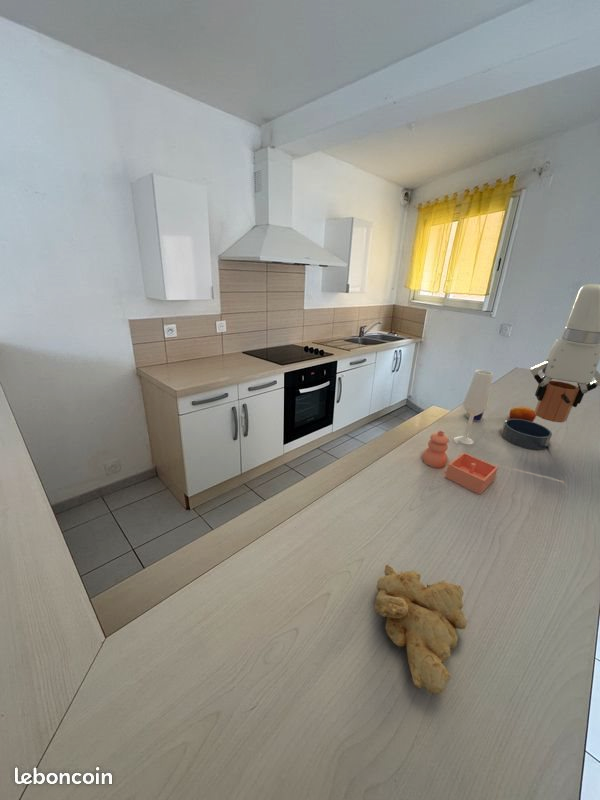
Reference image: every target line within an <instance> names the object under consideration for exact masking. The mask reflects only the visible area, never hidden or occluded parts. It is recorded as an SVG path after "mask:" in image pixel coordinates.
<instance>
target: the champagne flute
mask: <svg viewBox="0 0 600 800" xmlns="http://www.w3.org/2000/svg"><path fill="white" fill-rule="evenodd" d="M493 378H494V373H493V372H492V371H490V370H487V369H486V370H485V369H476V370H475V371H474V374H473V377H472V379H471V383H470V385H469V387H468V390H467V392H466V395H465V397H464V400H463V402H462V404H463V408H464V409H465V412H466V413H467V412H468V414H470V417H469V420H468V421H467V425H466V428H465V432H464V435H459V436H455V437H453V441H454V443H456V444H457V445H459V443H461V444H465V445H473V444H474V440H473V439H471V438H470V437H469V434H470V431H471V428H472V424H473V418H474V416H476V415H479V414H481V413H483V412H484V413H485V412H486V410H487V409H488V405H489V400H490V394H491V389H492V384H493ZM484 413H483V414H484Z"/></svg>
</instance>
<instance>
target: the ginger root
mask: <svg viewBox="0 0 600 800" xmlns="http://www.w3.org/2000/svg"><path fill="white" fill-rule="evenodd" d="M383 572H384V575H383V576H381V577H379V578H378V579H377V581H376V582H377V583H376V589H377V594H376V595H375V603H374V607H375V612H376V613H377V614H379V615H380V616H381V617H384V618H385V617H386V621H385V626H384V627H385V628H384V629H385V631H386V632H385V633H386V634H387V636H388V637H389V638H390V640H391V641H392V643H394V645H396V646H397V647H406V654H407V655H406V656H407V663H408V666H409V670H410V674H411V678H412V682H413V685H414V687H416V688H418V689H420V688H422V687H424V688H425V689H426V690H427V691H428V692H430V693H432V694H434V693H435V694H437V695H442V694H443V693H444V691H445V690H446V686H447V684H448V682H450V680H451V675H450V673H449V671H448V670H447V667H446V666H445V665H444V663H445V662H446V661H447V660H448V658H450V657H451V651H452V650H451V649H455V648H457V646H458V645H457V643H458V640H459V636H458V633H457V629H459V630H466V627H467V618H466V616H465V613H464V612H463V610H462V608H464V601H463V596H464V590H463V588H462V587H461V586H460V585H457V584H454V583H450V582H446V581H445V580H443V579H442V580H441V581H438V582H436V583H432V584H426V586H425V585H424V584H423V582H421V574H420V573H418V572H416V571H415V570H409V571H405V572H404V571H400V572H398V573H397V572H396V571H395V569H394V568H393V567H392V566H390V565H389V564H386V565H385V566H384V571H383Z"/></svg>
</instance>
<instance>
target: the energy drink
mask: <svg viewBox="0 0 600 800" xmlns="http://www.w3.org/2000/svg"><path fill="white" fill-rule="evenodd" d="M484 413H485V411H484V412H483V413H481V414H479V415H476V416H474V418H473V422H474V423H481V422H482V420H483V416H484ZM469 417H470V414H468V412H467V411H466V414H465V419H466V420H468V421H469ZM473 422H472V423H473Z"/></svg>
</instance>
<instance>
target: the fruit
mask: <svg viewBox="0 0 600 800" xmlns="http://www.w3.org/2000/svg"><path fill="white" fill-rule="evenodd" d="M534 412H535V409H532V407H527V406H522V405H520V406H516V407H512V408H511V409H510V410H509V417H508V418H509V419H522V420H527V421H531V422H534V421H535V419H536V417H537V416H536V415H535V413H534Z"/></svg>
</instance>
